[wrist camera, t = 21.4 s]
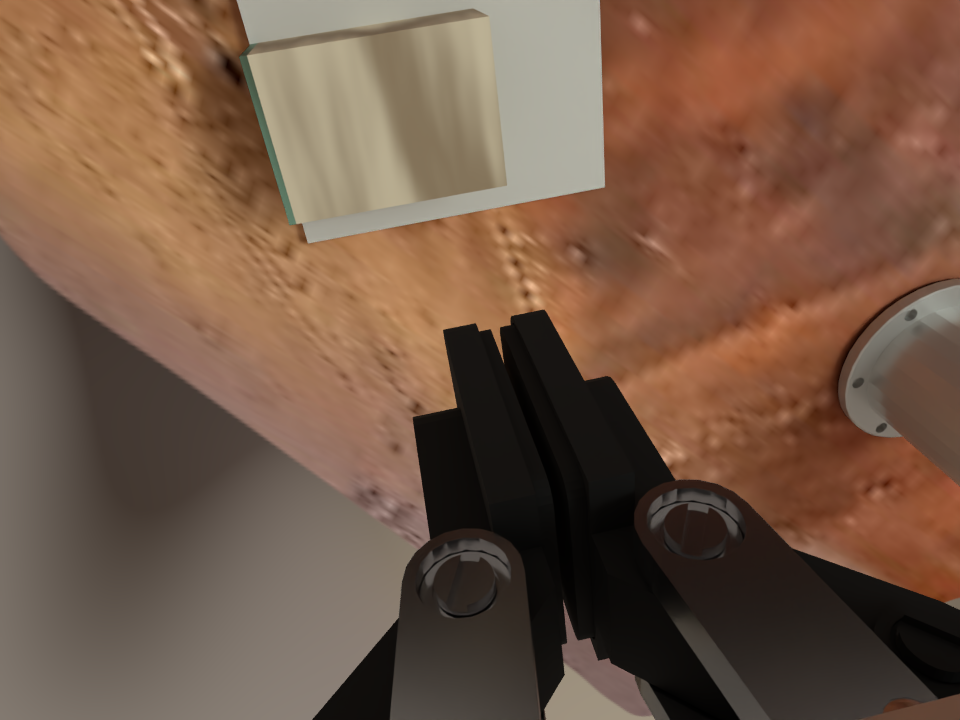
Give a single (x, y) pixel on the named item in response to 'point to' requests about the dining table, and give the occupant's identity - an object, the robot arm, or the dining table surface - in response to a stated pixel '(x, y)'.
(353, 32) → the beige and green box
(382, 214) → the rubber mat
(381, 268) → the dining table surface
